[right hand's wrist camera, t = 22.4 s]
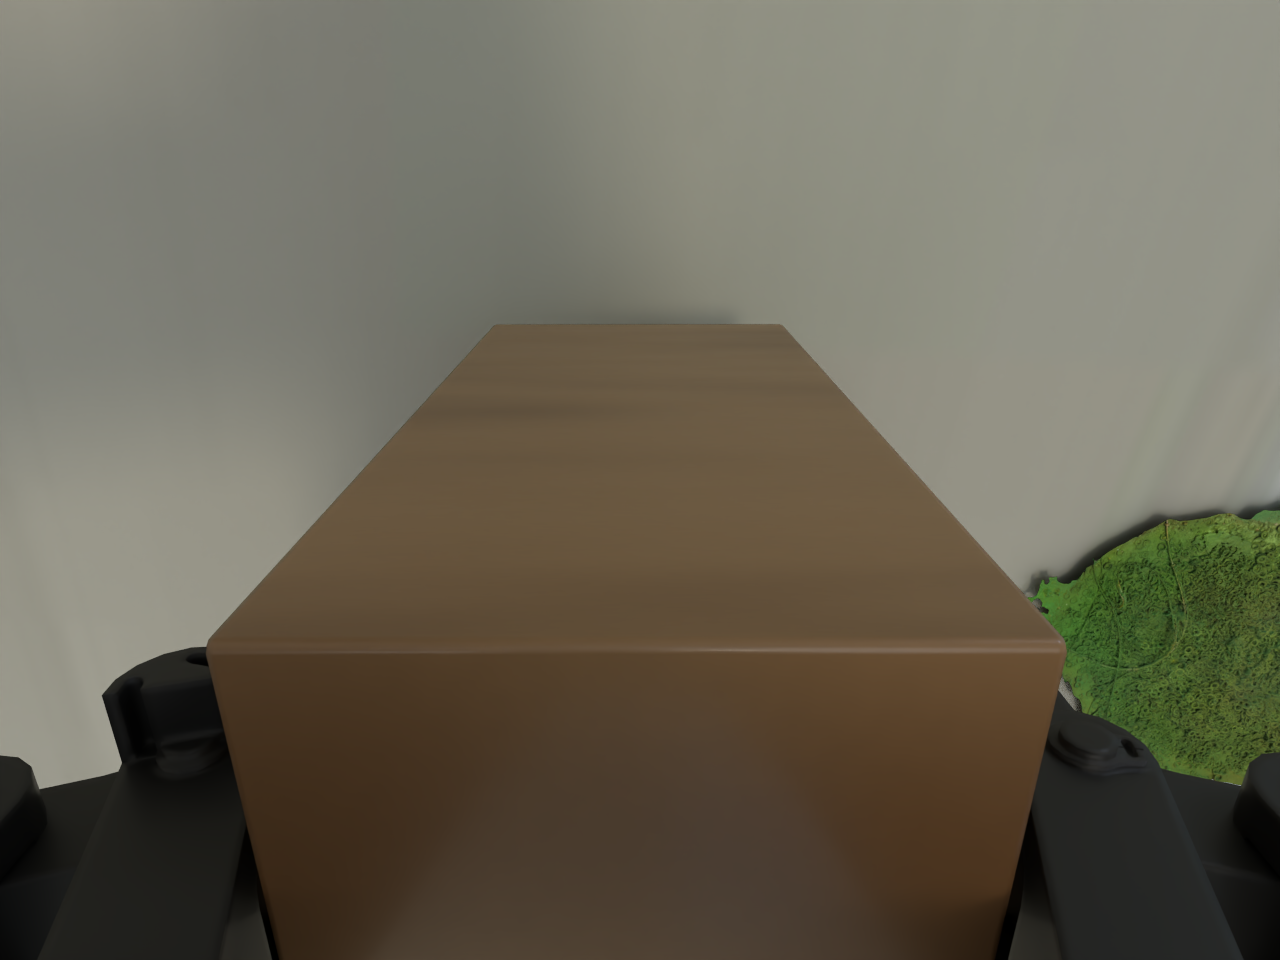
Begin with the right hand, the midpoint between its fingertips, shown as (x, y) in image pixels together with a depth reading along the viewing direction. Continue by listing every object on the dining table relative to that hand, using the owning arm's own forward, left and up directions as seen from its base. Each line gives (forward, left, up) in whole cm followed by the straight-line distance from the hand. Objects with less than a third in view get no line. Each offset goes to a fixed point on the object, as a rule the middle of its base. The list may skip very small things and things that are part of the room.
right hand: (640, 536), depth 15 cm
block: (0, 0, -3) cm, 3 cm away
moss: (+19, +8, -8) cm, 22 cm away
